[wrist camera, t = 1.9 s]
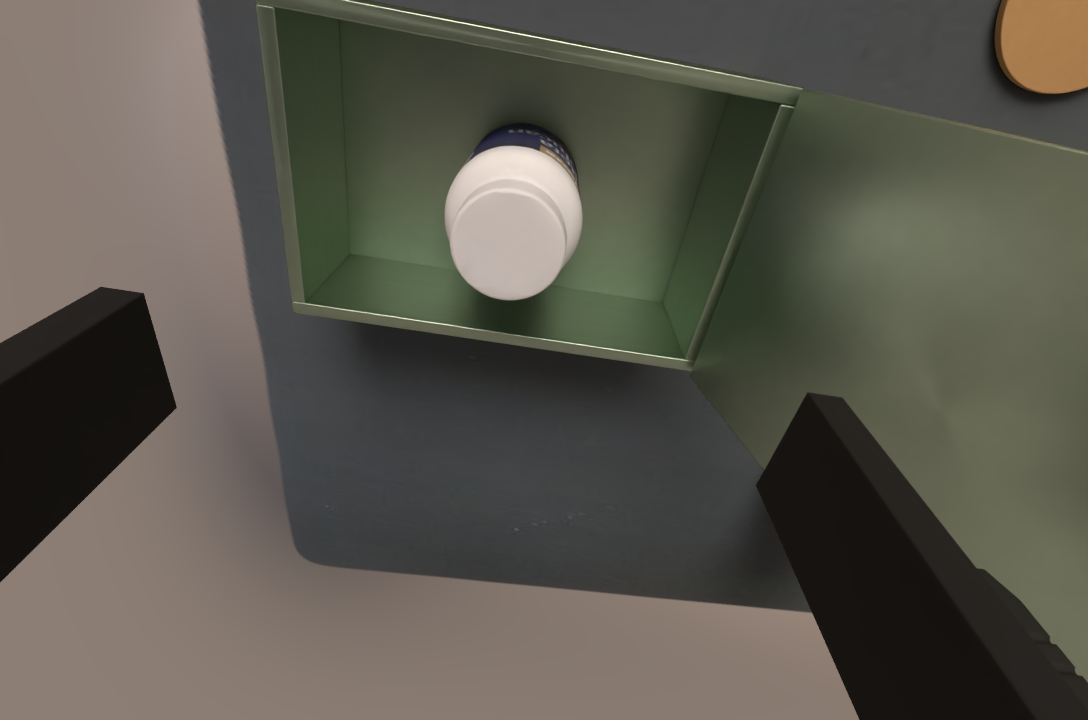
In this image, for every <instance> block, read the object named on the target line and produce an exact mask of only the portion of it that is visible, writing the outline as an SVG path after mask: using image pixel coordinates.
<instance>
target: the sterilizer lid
mask: <svg viewBox="0 0 1088 720" xmlns="http://www.w3.org/2000/svg"><path fill="white" fill-rule="evenodd" d="M690 377H691V379H692V380H693V381H694V382H695V384H696V385H697V386H698V387H699V389H700V390H701V391H702V393H703V394H704V395H705V396H706V398H707V399H708V400H709V401H710V403H711V404H712V405H713V407H714V408H715V409H716V410H717V412H718V413H719V414H720V415H721V417H722V418H723V419H724V420H725V422H726V423H727V424H728V426H729V427H730V428H731V429H732V431H733V432H734V433H735V434H736V436H737V437H738V438H739V439H740V441H741V442H742V443H743V445H744V446H745V447H746V448H747V450H748V451H749V452H750V453H751V455H752V456H753V457H754V458H755V460H756V461H757V462H758V464H759V465H760V466H761V467H762V469H763V470H765V468H766V466H767V465H768V463H769V461H770V459H771V457H772V455H773V454H774V452H775V450H776V448H777V446H778V445H779V443H780V441H781V439H782V437H783V436H784V434H785V432H786V430H787V428H788V427H789V425H790V423H791V421H792V419H793V418H794V416H795V414H796V412H797V410H798V408H799V407H800V405H801V403H802V401H803V399H804V398H805V396H806V394H807V392H809V393H816V394H823V395H829V396H836V397H843V399H844V400H845V401H846V403H847V404H848V405H849V406H850V408H851V409H852V410H853V411H854V413H855V414H856V415H857V417H858V418H859V419H860V420H861V422H862V423H863V424H864V425H865V427H866V428H867V429H868V431H869V432H870V433H871V434H872V436H873V437H874V438H875V439H876V441H877V442H878V443H879V445H880V446H881V447H882V448H883V450H884V451H885V452H886V453H887V455H888V456H889V457H890V459H891V460H892V461H893V462H894V464H895V465H896V466H897V467H898V469H899V470H900V471H901V473H902V474H903V475H904V476H905V478H906V479H907V480H908V481H909V483H910V484H911V485H912V487H913V488H914V489H915V490H916V492H917V493H918V494H919V495H920V497H921V498H922V499H923V501H924V502H925V503H926V504H927V506H928V507H929V508H930V509H931V511H932V512H933V513H934V515H935V516H936V517H937V518H938V520H939V521H940V522H941V523H942V525H943V526H944V527H945V529H946V530H947V531H948V532H949V534H950V535H951V536H952V538H953V539H954V540H955V541H956V543H957V544H958V545H959V546H960V548H961V549H962V550H963V552H964V553H965V554H966V555H967V557H968V558H969V559H970V560H971V562H972V563H973V564H974V566H975V567H976V568H979V569H985V570H986V571H987V572H988V573H989V574H990V575H992V576H993V577H994V578H995V579H996V580H997V581H999V582H1000V583H1001V584H1002V585H1003V586H1004V587H1005V588H1007V589H1008V590H1009V591H1010V592H1011V593H1012V594H1014V595H1015V596H1016V597H1017V598H1018V599H1019V600H1020V601H1021V602H1022V603H1023V604H1024V605H1025V606H1026V608H1027V609H1028V610H1029V611H1030V613H1031V614H1032V615H1033V616H1034V617H1035V619H1036V620H1037V621H1038V622H1039V624H1040V625H1041V626H1042V627H1043V628H1044V630H1045V631H1046V632H1047V633H1048V635H1049V636H1050V642H1051V643H1052V644H1057V646H1058V647H1059V648H1060V649H1061V650H1062V652H1063V653H1064V654H1065V655H1066V657H1067V658H1068V659H1069V660H1070V661H1071V663H1072V664H1073V665H1074V666H1075V672H1076V674H1077V675H1079V676H1083V677H1084V679H1085V680H1086V681H1087V682H1088V151H1083V150H1079V149H1074V148H1070V147H1066V146H1061V145H1057V144H1052V143H1048V142H1043V141H1039V140H1034V139H1030V138H1025V137H1021V136H1016V135H1012V134H1008V133H1003V132H999V131H994V130H990V129H985V128H981V127H976V126H972V125H967V124H963V123H958V122H954V121H949V120H945V119H941V118H936V117H932V116H927V115H923V114H918V113H914V112H909V111H905V110H900V109H896V108H891V107H887V106H883V105H878V104H874V103H869V102H865V101H860V100H856V99H851V98H847V97H842V96H838V95H833V94H829V93H825V92H820V91H816V90H810V89H802V91H801V94H800V96H799V99H798V101H797V104H796V106H795V109H794V111H793V114H792V116H791V119H790V122H789V124H788V127H787V129H786V132H785V134H784V137H783V139H782V142H781V145H780V147H779V150H778V152H777V155H776V157H775V160H774V162H773V165H772V168H771V170H770V173H769V175H768V178H767V180H766V183H765V185H764V188H763V190H762V193H761V196H760V198H759V201H758V203H757V206H756V208H755V211H754V213H753V216H752V219H751V221H750V224H749V226H748V229H747V231H746V234H745V236H744V239H743V242H742V244H741V247H740V249H739V252H738V254H737V257H736V259H735V262H734V264H733V267H732V270H731V272H730V275H729V277H728V280H727V282H726V285H725V287H724V290H723V293H722V295H721V298H720V300H719V303H718V305H717V308H716V310H715V313H714V316H713V318H712V321H711V323H710V326H709V328H708V331H707V333H706V336H705V338H704V341H703V344H702V346H701V349H700V351H699V354H698V356H697V359H696V361H695V364H694V367H693V369H692V372H691V374H690Z"/></svg>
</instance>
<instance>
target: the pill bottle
mask: <svg viewBox="0 0 1088 720" xmlns="http://www.w3.org/2000/svg"><path fill="white" fill-rule="evenodd" d="M582 224H583V214H582V205H581V197H580V190H579V182H578V173H577V168H576V164H575V161H574V158H573V156H572V154H571V152H570V150H569V148H568V147H567V145H566V144H565V143H564V141H563V140H562V139H561V138H560V137H559V136H558V135H557V134H555V133H554V132H553V131H551V130H550V129H548V128H546V127H544V126H542V125H539V124H536V123H531V122H511V123H507V124H504V125H502V126H499V127H497V128H495V129H494V130H492V131H491V132H490V133H488V134H487V135H486V136H485V137H484V138H483V139H482V140H481V141H480V142H479V144H478V145H477V147H476V148H475V150H474V151H473V153H472V154H471V155H470V157H469V158H468V160H467V161H466V163H465V164H464V166H463V167H462V168H461V170H460V171H459V173H458V174H457V176H456V177H455V179H454V181H453V183H452V185H451V187H450V189H449V192H448V195H447V199H446V204H445V227H446V232H447V236H448V239H449V241H450V249H451V255H452V258H453V261H454V264H455V266H456V268H457V270H458V271H459V273H460V274H461V276H462V277H463V278H464V279H465V281H466V282H467V283H468V284H469V285H471V286H472V287H473V288H474V289H476V290H477V291H479V292H480V293H483V294H485V295H487V296H489V297H492V298H495V299H500V300H520V299H525V298H529V297H531V296H534V295H536V294H538V293H540V292H541V291H543V290H544V289H546V288H547V287H548V286H549V285H550V284H551V283H552V282H553V281H554V280H555V278H556V277H557V275H558V274H559V272H560V270H561V269H562V268H563V267H564V266H565V264H566V263H567V262H568V261H569V260H570V258H571V257H572V255H573V254H574V252H575V250H576V248H577V245H578V243H579V240H580V236H581V232H582Z"/></svg>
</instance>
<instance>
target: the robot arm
mask: <svg viewBox="0 0 1088 720" xmlns="http://www.w3.org/2000/svg"><path fill="white" fill-rule="evenodd" d="M174 409H176V403H175V400H174V397H173V393H172V390H171V386H170V383H169V379H168V376H167V372H166V369H165V365H164V362H163V358H162V355H161V352H160V348H159V345H158V341H157V338H156V334H155V331H154V328H153V324H152V320H151V317H150V314H149V310H148V307H147V303H146V300H145V296H144V293H138V292H131V291H125V290H118V289H112V288H105V287H100V288H98V289H96V290H95V291H93V292H91V293H89V294H88V295H86V296H84V297H82V298H80V299H78V300H77V301H75V302H73V303H71V304H70V305H68V306H66V307H64V308H63V309H61V310H59V311H57V312H55V313H53V314H52V315H50V316H48V317H47V318H45V319H43V320H41V321H39V322H37V323H36V324H34V325H32V326H30V327H28V328H27V329H25V330H23V331H21V332H20V333H18V334H16V335H14V336H12V337H11V338H9V339H7V340H5V341H3V342H2V343H0V582H1V581H2V580H3V579H4V578H5V577H6V576H7V575H8V574H9V573H10V572H11V571H12V570H13V569H14V568H15V567H16V566H17V565H18V564H19V563H20V562H21V561H22V560H23V559H24V558H25V557H26V556H27V555H28V554H29V553H30V552H31V551H32V550H33V549H34V548H35V547H36V546H37V545H38V544H39V543H40V542H41V541H42V540H43V539H44V538H45V537H46V536H47V535H48V534H49V533H50V532H51V531H52V530H53V529H55V528H56V527H57V526H58V525H59V523H61V521H63V519H65V518H66V517H67V516H68V515H69V514H70V513H71V512H72V511H73V510H74V509H75V508H76V507H77V506H78V505H79V504H80V503H81V502H82V501H83V500H84V499H85V498H86V497H87V496H88V495H89V494H90V493H91V492H92V491H93V490H94V489H95V488H96V487H97V486H98V485H99V484H100V483H101V482H102V481H103V480H104V479H105V478H106V477H107V476H108V475H109V474H110V473H111V472H112V471H113V470H114V469H115V468H116V467H117V466H118V465H119V464H120V463H121V462H122V461H123V460H124V459H125V458H126V457H127V456H128V455H129V454H130V453H131V452H132V451H133V450H134V449H135V448H136V447H137V446H138V445H139V444H140V443H141V442H142V441H143V440H144V439H145V438H146V437H147V436H148V435H149V434H151V432H152V431H154V430H155V428H157V427H158V426H159V424H161V422H163V421H164V419H166V417H168V416H169V415H170V414H171V413H172V412H173V411H174ZM756 486H757V489H758V491H759V493H760V496H761V498H762V500H763V502H764V505H765V507H766V509H767V511H768V514H769V516H770V518H771V520H772V523H773V525H774V527H775V529H776V532H777V534H778V536H779V539H780V541H781V543H782V545H783V548H784V550H785V552H786V554H787V557H788V559H789V561H790V563H791V566H792V568H793V570H794V572H795V575H796V577H797V579H798V582H799V584H800V586H801V588H802V591H803V593H804V595H805V597H806V600H807V602H808V604H809V606H810V609H811V611H812V613H813V615H814V618H815V620H816V622H817V625H818V626H819V629H820V631H821V633H822V636H823V638H824V640H825V643H826V645H827V647H828V649H829V652H830V654H831V656H832V658H833V661H834V663H835V665H836V668H837V670H838V672H839V674H840V676H841V679H842V681H843V683H844V686H845V688H846V690H847V692H848V695H849V697H850V699H851V701H852V704H853V706H854V708H855V710H856V713H857V715H858V717H859V720H1088V682H1087V681H1086V680H1085V679H1084V677H1083V676H1079V675H1077V674H1076V672H1075V666H1074V665H1073V664H1072V663H1071V661H1070V660H1069V659H1068V658H1067V657H1066V655H1065V654H1064V653H1063V652H1062V650H1061V649H1060V648H1059V647H1058V646H1057V644H1052V643H1051V642H1050V636H1049V635H1048V633H1047V632H1046V631H1045V630H1044V628H1043V627H1042V626H1041V625H1040V624H1039V622H1038V621H1037V620H1036V619H1035V617H1034V616H1033V615H1032V614H1031V613H1030V611H1029V610H1028V609H1027V608H1026V606H1025V605H1024V604H1023V603H1022V602H1021V601H1020V600H1019V599H1018V598H1017V597H1016V596H1015V595H1014V594H1012V593H1011V592H1010V591H1009V590H1008V589H1007V588H1005V587H1004V586H1003V585H1002V584H1001V583H1000V582H999V581H997V580H996V579H995V578H994V577H993V576H992V575H990V574H989V573H988V572H987V571H986V570H985V569H979V568H976V567H975V566H974V564H973V563H972V562H971V560H970V559H969V558H968V557H967V555H966V554H965V553H964V552H963V550H962V549H961V548H960V546H959V545H958V544H957V543H956V541H955V540H954V539H953V538H952V536H951V535H950V534H949V532H948V531H947V530H946V529H945V527H944V526H943V525H942V523H941V522H940V521H939V520H938V518H937V517H936V516H935V515H934V513H933V512H932V511H931V509H930V508H929V507H928V506H927V504H926V503H925V502H924V501H923V499H922V498H921V497H920V495H919V494H918V493H917V492H916V490H915V489H914V488H913V487H912V485H911V484H910V483H909V481H908V480H907V479H906V478H905V476H904V475H903V474H902V473H901V471H900V470H899V469H898V467H897V466H896V465H895V464H894V462H893V461H892V460H891V459H890V457H889V456H888V455H887V453H886V452H885V451H884V450H883V448H882V447H881V446H880V445H879V443H878V442H877V441H876V439H875V438H874V437H873V436H872V434H871V433H870V432H869V431H868V429H867V428H866V427H865V425H864V424H863V423H862V422H861V420H860V419H859V418H858V417H857V415H856V414H855V413H854V411H853V410H852V409H851V408H850V406H849V405H848V404H847V403H846V401H845V400H844V399H843V397H836V396H829V395H823V394H816V393H809V392H807V394H806V396H805V398H804V399H803V401H802V403H801V405H800V407H799V408H798V410H797V412H796V414H795V416H794V418H793V419H792V421H791V423H790V425H789V427H788V428H787V430H786V432H785V434H784V436H783V437H782V439H781V441H780V443H779V445H778V446H777V448H776V450H775V452H774V454H773V455H772V457H771V459H770V461H769V463H768V465H767V466H766V468H765V470H764V472H763V474H762V475H761V477H760V479H759V481H758V483H757V484H756Z"/></svg>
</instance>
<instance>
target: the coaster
mask: <svg viewBox="0 0 1088 720" xmlns="http://www.w3.org/2000/svg"><path fill="white" fill-rule="evenodd" d="M995 49H996V55H997V59H998V62H999V64H1000V67H1001V68H1002V70H1003V72H1004V73H1005V75H1006V76H1007V77H1008V78H1009V79H1010V80H1011V81H1012V82H1013V83H1014V84H1016V85H1017V86H1019V87H1021V88H1023V89H1025V90H1028V91H1032V92H1036V93H1045V94H1060V93H1067V92H1072V91H1077V90H1080V89H1083V88H1086V87H1088V0H1002V1H1001V4H1000V7H999V11H998V15H997V20H996V27H995Z"/></svg>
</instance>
